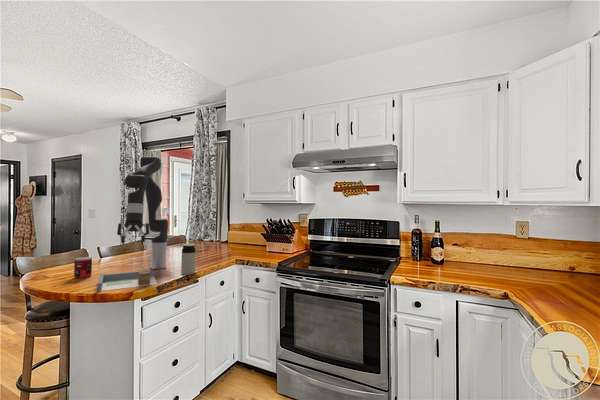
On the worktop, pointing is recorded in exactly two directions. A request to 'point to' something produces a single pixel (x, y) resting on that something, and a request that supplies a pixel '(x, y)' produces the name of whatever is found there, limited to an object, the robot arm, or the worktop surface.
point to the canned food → (82, 267)
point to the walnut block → (144, 277)
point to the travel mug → (188, 259)
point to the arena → (121, 280)
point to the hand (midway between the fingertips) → (132, 243)
